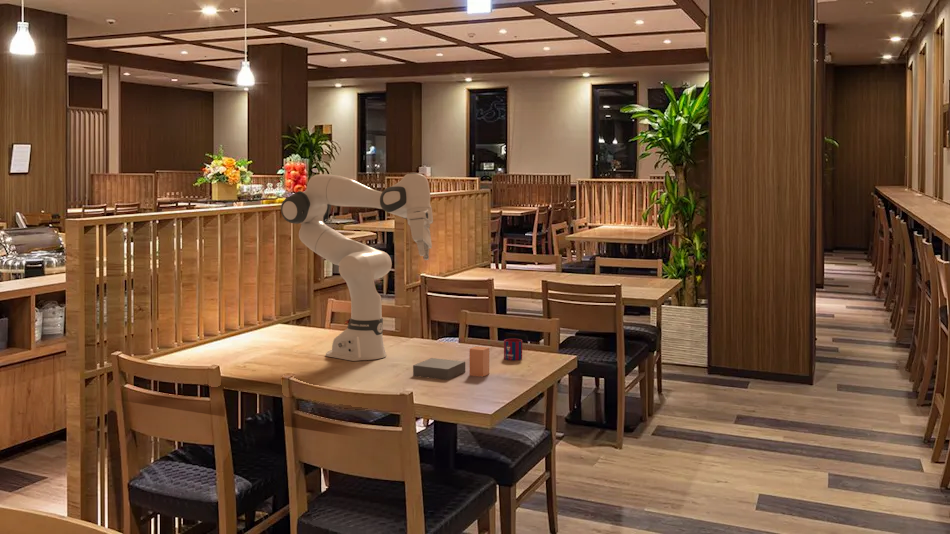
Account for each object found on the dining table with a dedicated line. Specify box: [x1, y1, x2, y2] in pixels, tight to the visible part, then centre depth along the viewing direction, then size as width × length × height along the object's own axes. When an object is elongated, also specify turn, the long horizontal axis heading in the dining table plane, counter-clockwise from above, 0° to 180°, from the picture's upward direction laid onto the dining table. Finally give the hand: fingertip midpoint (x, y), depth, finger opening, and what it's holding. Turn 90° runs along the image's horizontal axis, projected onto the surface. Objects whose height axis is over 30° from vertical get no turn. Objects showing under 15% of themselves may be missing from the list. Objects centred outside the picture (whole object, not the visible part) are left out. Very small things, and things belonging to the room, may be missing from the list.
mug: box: [503, 338, 523, 362], centre depth 318 cm, size 7×10×7 cm
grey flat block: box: [412, 357, 466, 381], centre depth 292 cm, size 13×13×4 cm
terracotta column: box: [468, 346, 490, 378], centre depth 291 cm, size 5×5×9 cm
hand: (424, 257), depth 299 cm, fingers open, 8 cm apart
